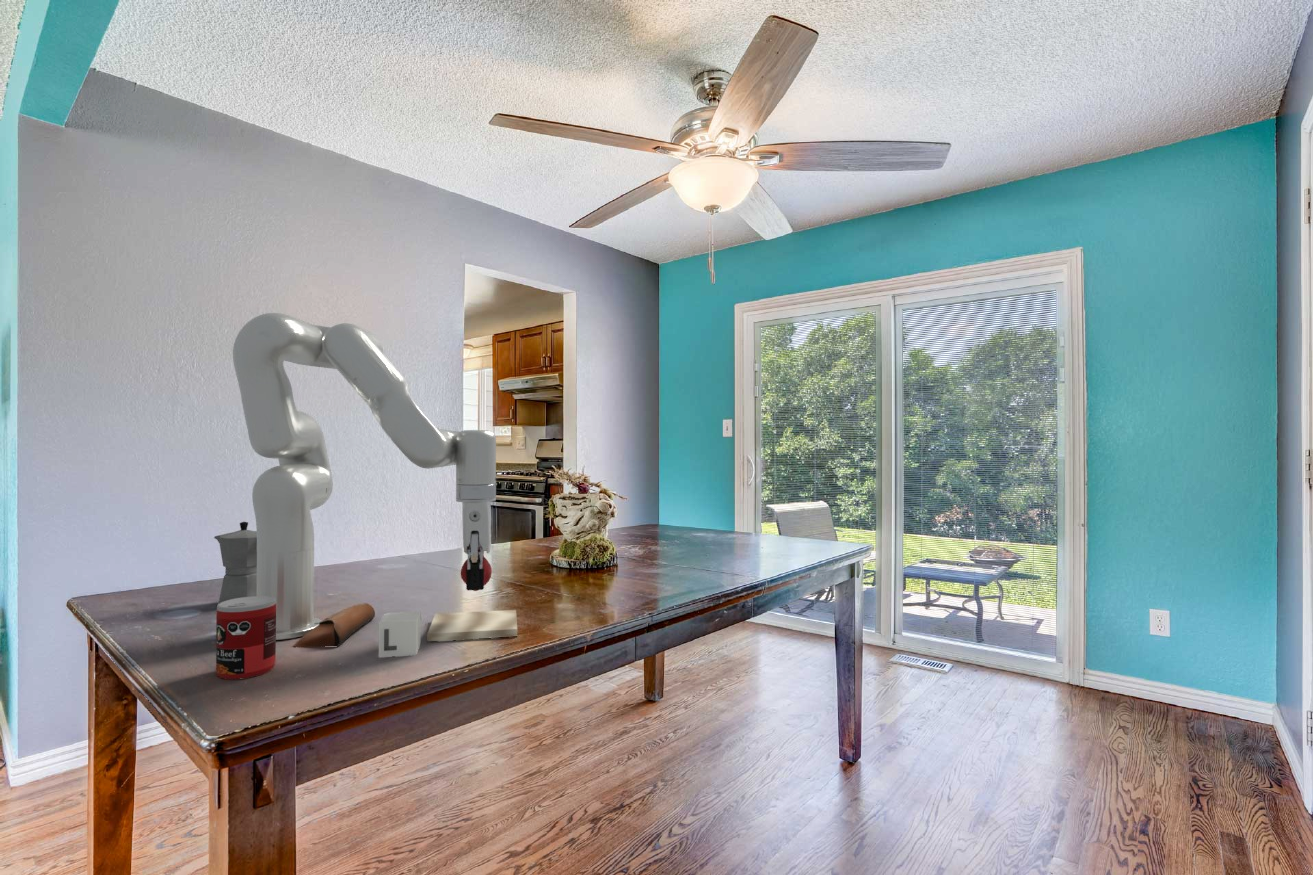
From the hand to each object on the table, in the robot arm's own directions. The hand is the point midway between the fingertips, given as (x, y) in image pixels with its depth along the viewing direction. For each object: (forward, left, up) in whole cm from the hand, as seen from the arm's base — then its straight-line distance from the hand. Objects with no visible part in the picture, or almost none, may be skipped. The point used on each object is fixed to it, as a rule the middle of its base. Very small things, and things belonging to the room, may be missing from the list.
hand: (475, 585), depth 127 cm
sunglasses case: (-25, +2, -9) cm, 27 cm away
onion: (0, 0, -1) cm, 1 cm away
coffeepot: (-50, +30, -9) cm, 59 cm away
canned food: (-34, -17, -9) cm, 39 cm away
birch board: (0, 0, -9) cm, 9 cm away
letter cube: (-12, -11, -9) cm, 19 cm away
